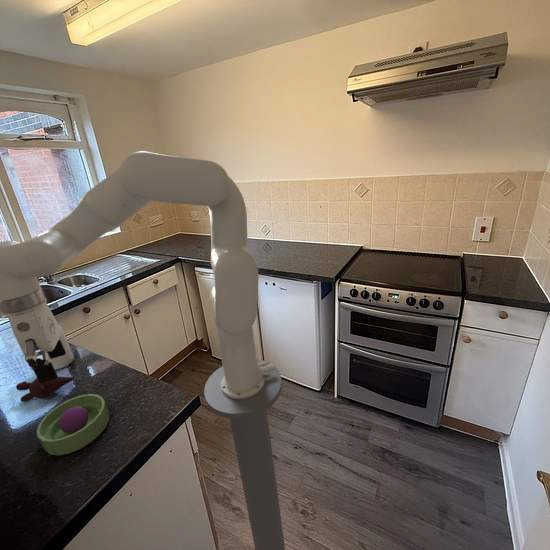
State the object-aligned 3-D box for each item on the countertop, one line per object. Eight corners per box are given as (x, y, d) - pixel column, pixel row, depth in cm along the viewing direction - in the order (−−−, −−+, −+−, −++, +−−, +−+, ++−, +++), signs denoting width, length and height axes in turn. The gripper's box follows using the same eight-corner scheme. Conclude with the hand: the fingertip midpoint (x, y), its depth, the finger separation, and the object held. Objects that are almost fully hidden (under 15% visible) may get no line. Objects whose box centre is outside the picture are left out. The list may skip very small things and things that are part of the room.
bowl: (111, 401, 83) (106, 387, 82) (108, 440, 71) (102, 424, 69) (52, 421, 78) (44, 407, 76) (37, 467, 66) (28, 451, 64)
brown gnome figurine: (75, 362, 91) (22, 377, 89) (63, 372, 84) (5, 388, 82) (83, 383, 92) (30, 398, 90) (71, 394, 85) (14, 411, 83)
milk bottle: (76, 362, 103) (56, 310, 95) (50, 373, 98) (26, 320, 91) (71, 353, 108) (51, 304, 101) (46, 364, 103) (23, 313, 96)
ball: (92, 415, 78) (85, 397, 76) (90, 432, 73) (82, 413, 71) (66, 425, 76) (58, 407, 74) (61, 443, 71) (52, 424, 69)
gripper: (32, 312, 56) (66, 384, 62) (52, 283, 71) (78, 343, 77) (-18, 324, 53) (23, 398, 59) (14, 291, 68) (44, 353, 74)
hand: (54, 367), depth 68 cm, fingers open, 9 cm apart
